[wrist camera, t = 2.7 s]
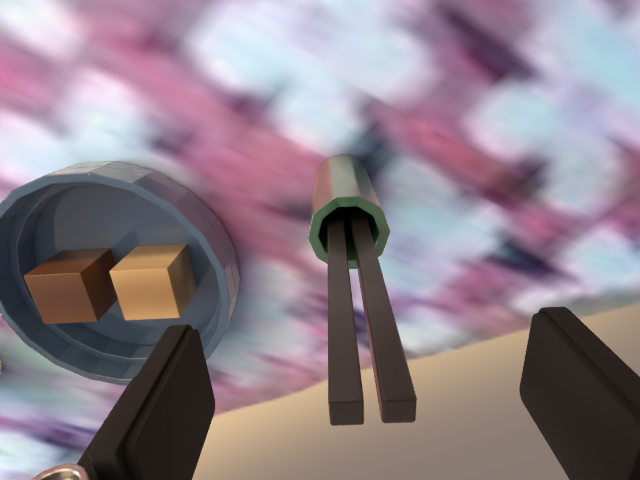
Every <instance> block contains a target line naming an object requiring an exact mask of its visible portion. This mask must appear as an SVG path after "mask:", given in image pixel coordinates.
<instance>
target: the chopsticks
mask: <svg viewBox="0 0 640 480" xmlns="http://www.w3.org/2000/svg"><path fill="white" fill-rule="evenodd" d="M348 211H349V218H350V224H351V230H352V237H353V243H354V249H355V256H356V262H357V269H358V275H359V281H360V288H361V294H362V300H363V307H364V313H365V319H366V326H367V332H368V338H369V345H370V351H371V358H372V364H373V370H374V377H375V383H376V389H377V396H378V402H379V408H380V415H381V420H382V422H383V423H411V422H414V421H415V419H416V400H417V398H416V394H415V391H414V387H413V383H412V380H411V376H410V373H409V369H408V365H407V362H406V358H405V354H404V351H403V347H402V344H401V340H400V336H399V333H398V329H397V326H396V322H395V318H394V315H393V311H392V307H391V304H390V300H389V297H388V293H387V289H386V286H385V282H384V279H383V275H382V271H381V268H380V264H379V260H378V257H377V253H376V250H375V246H374V242H373V239H372V235H371V232H370V228H369V224H368V221H367V217H366V213H365V211H364V210H363V209H361V208H360V207H358V206H351V207H348ZM328 403H329V415H330V423H331V425H334V426H337V425H362V424H363V423H364V400H363V391H362V383H361V373H360V364H359V355H358V346H357V337H356V328H355V319H354V311H353V302H352V293H351V284H350V275H349V266H348V257H347V248H346V239H345V231H344V222H343V213H342V207H337V208H336V209H335V210H334V211H332V212H331V213H330V214H328Z"/></svg>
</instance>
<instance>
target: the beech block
mask: <svg viewBox="0 0 640 480" xmlns="http://www.w3.org/2000/svg"><path fill="white" fill-rule="evenodd" d="M109 272H110V275H111V278H112V281H113V285H114V288H115V291H116V294H117V297H118V300H119V303H120V306H121V309H122V312H123V315H124V318H125V320H142V319H163V318H180V316H181V315H182V313H183V311H184V310H185V308H186V307H187V305H188V303H189V302H190V300H191V298H192V297H193V295H194V293H195V292H196V290H197V285H196V281H195V277H194V272H193V268H192V264H191V259H190V255H189V250H188V246H187V244H177V245H159V246H141V247H136V248H134V249H133V250H132V251H131V252H130V253H129V254H128V255H127V256H126V257H125V258H123V259H122V260H121V261H120V262H119V263H118V264H117V265H116V266H115V267H113V268H112V269H111V270H110V271H109Z"/></svg>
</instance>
